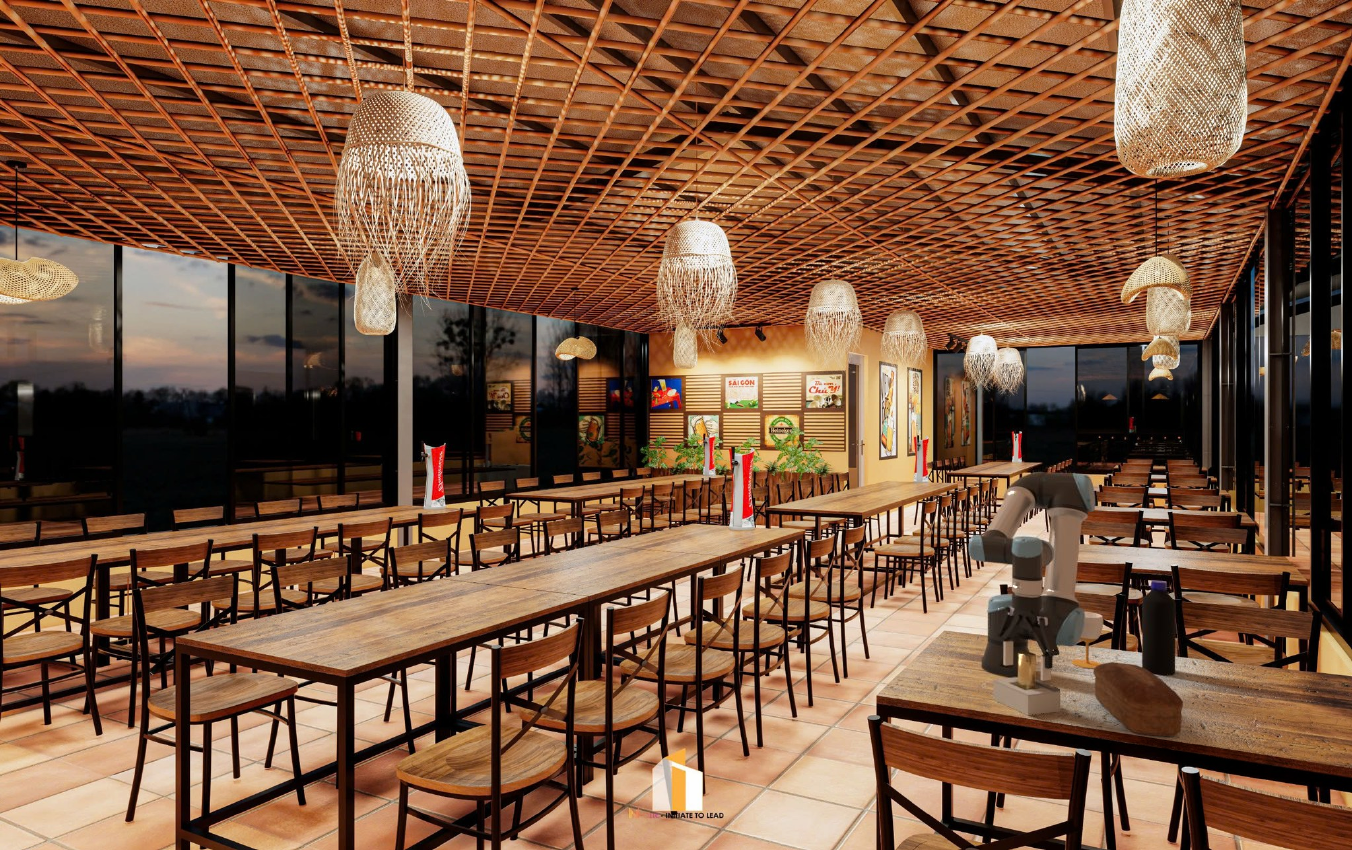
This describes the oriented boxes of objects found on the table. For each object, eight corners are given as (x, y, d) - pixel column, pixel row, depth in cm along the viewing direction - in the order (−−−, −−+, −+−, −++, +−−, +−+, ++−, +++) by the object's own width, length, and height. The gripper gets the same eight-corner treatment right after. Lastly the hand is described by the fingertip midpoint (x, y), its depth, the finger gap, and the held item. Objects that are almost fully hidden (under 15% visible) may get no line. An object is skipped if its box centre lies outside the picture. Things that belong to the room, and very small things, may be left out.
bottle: (1180, 676, 237) (1180, 585, 237) (1148, 674, 239) (1149, 583, 239) (1168, 668, 245) (1168, 579, 246) (1137, 666, 247) (1138, 578, 247)
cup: (1109, 669, 244) (1109, 618, 244) (1080, 668, 244) (1080, 617, 244) (1093, 660, 253) (1094, 611, 253) (1066, 660, 253) (1066, 611, 253)
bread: (1141, 701, 215) (1141, 657, 215) (1190, 742, 187) (1190, 691, 187) (1087, 698, 217) (1087, 654, 217) (1128, 737, 189) (1128, 687, 189)
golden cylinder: (1026, 701, 213) (1027, 651, 213) (1039, 707, 209) (1039, 655, 209) (1014, 703, 212) (1014, 652, 212) (1026, 709, 207) (1026, 657, 207)
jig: (1024, 695, 218) (1024, 672, 218) (1060, 711, 206) (1060, 687, 206) (993, 699, 215) (993, 676, 215) (1027, 715, 203) (1028, 691, 203)
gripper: (983, 586, 221) (983, 660, 221) (1051, 605, 198) (1051, 688, 198) (1004, 584, 224) (1004, 657, 224) (1074, 603, 200) (1074, 685, 200)
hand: (1026, 672), depth 211 cm, fingers open, 13 cm apart
